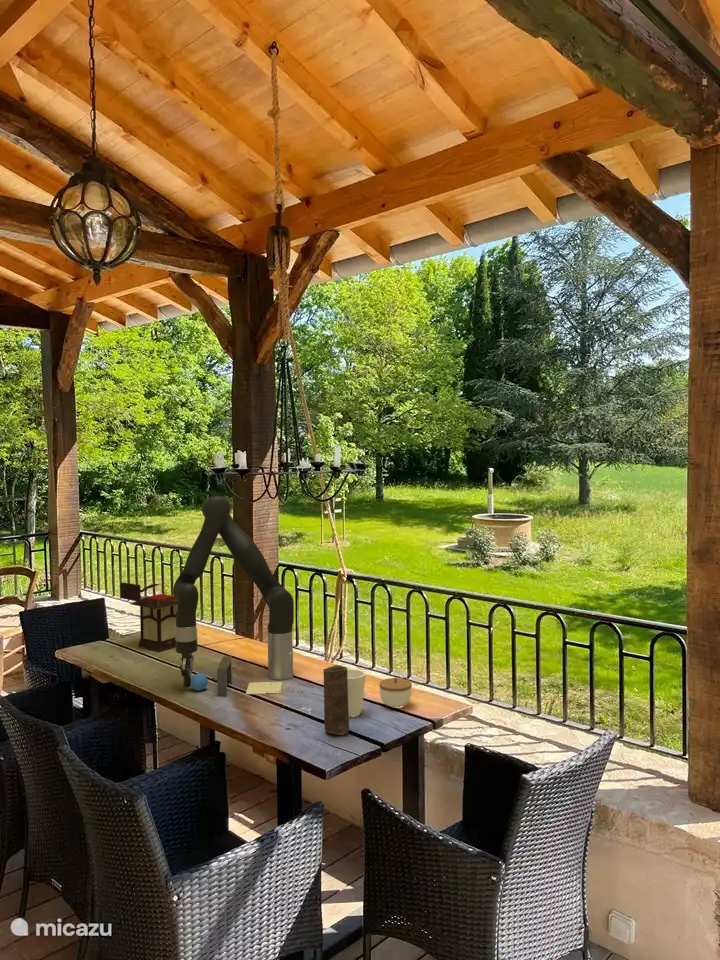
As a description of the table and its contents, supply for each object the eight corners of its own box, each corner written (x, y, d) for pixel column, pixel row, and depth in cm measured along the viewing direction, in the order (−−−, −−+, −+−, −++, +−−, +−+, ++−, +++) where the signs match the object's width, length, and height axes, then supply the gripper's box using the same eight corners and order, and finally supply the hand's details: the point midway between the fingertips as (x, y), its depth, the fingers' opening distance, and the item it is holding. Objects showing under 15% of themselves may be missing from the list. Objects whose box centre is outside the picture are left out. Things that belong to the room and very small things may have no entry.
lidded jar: (378, 700, 240) (378, 673, 239) (409, 699, 240) (409, 672, 240) (381, 712, 229) (380, 683, 229) (413, 711, 230) (413, 682, 229)
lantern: (115, 652, 301) (114, 582, 300) (164, 638, 322) (162, 573, 321) (143, 659, 291) (142, 586, 289) (191, 644, 312) (190, 577, 311)
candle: (329, 739, 208) (328, 671, 207) (320, 730, 214) (319, 665, 214) (353, 734, 211) (352, 668, 210) (343, 726, 218) (343, 661, 217)
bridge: (231, 682, 260) (231, 656, 260) (226, 696, 245) (225, 668, 245) (223, 682, 260) (223, 656, 260) (217, 696, 245) (217, 668, 245)
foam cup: (340, 720, 222) (339, 679, 222) (333, 710, 231) (333, 670, 231) (369, 717, 225) (369, 676, 224) (361, 707, 234) (361, 668, 233)
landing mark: (282, 682, 260) (282, 681, 260) (280, 693, 248) (280, 692, 248) (249, 683, 259) (249, 682, 259) (245, 694, 247) (245, 693, 247)
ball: (190, 682, 255) (205, 689, 255) (185, 688, 249) (201, 695, 249) (196, 667, 254) (212, 674, 255) (192, 673, 248) (208, 681, 249)
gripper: (193, 642, 245) (194, 692, 246) (200, 633, 258) (201, 680, 259) (171, 643, 245) (172, 692, 245) (179, 633, 258) (180, 680, 259)
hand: (187, 686), depth 252 cm, fingers closed
